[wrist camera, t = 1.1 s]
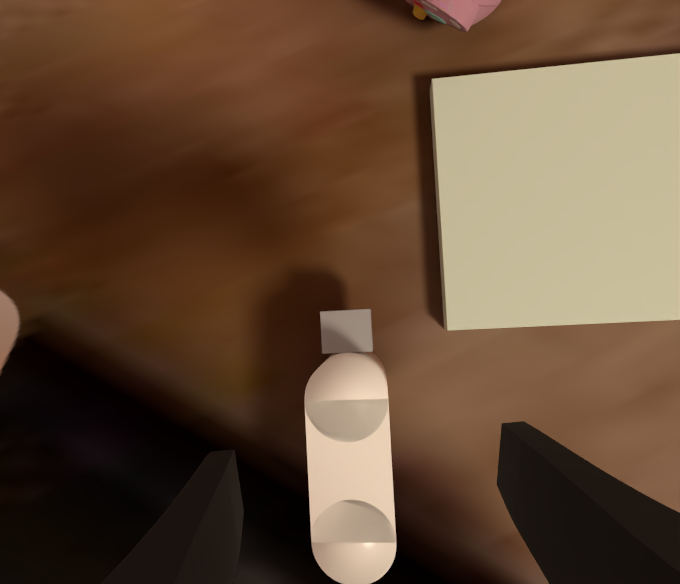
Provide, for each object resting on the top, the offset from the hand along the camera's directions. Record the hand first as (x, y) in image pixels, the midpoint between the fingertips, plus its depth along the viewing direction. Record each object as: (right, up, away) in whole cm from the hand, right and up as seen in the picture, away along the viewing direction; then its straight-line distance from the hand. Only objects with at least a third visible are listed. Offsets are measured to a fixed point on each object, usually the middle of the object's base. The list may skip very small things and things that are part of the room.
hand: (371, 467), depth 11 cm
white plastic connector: (0, -3, +12) cm, 12 cm away
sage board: (+11, +10, +11) cm, 18 cm away
